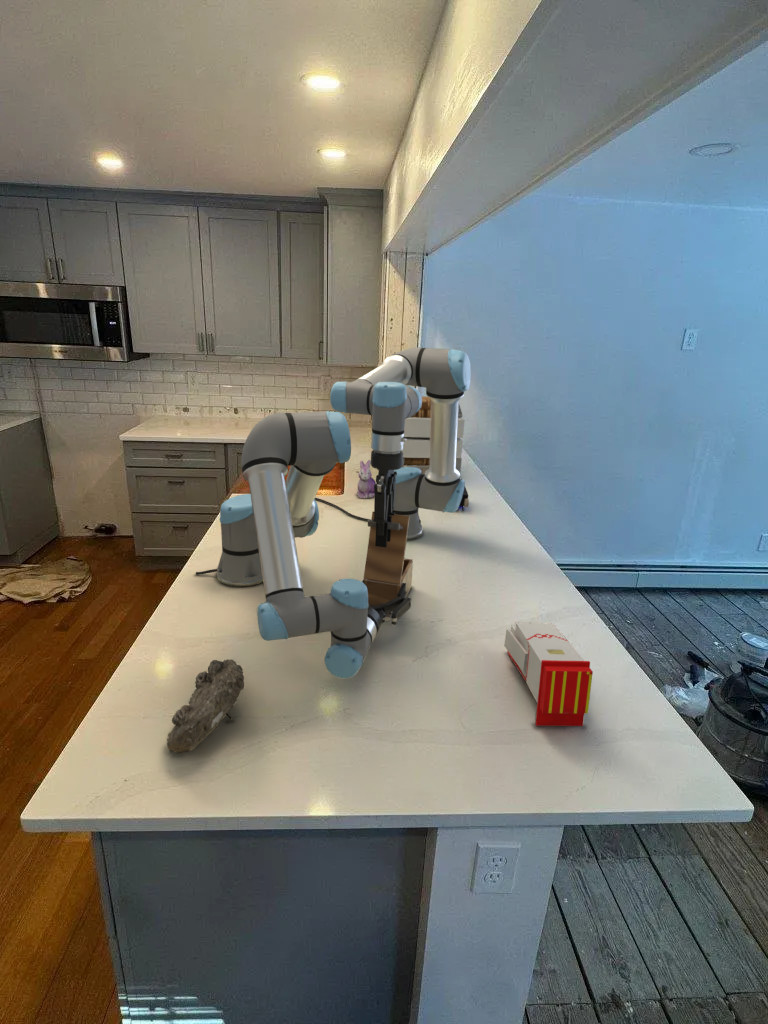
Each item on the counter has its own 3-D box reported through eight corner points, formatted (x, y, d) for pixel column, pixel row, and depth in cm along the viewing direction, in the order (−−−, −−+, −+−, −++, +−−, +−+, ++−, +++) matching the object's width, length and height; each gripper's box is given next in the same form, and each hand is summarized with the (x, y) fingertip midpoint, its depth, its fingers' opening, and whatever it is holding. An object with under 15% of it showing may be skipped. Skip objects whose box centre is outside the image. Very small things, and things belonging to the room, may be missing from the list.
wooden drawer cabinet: (382, 463, 289) (386, 382, 275) (445, 464, 293) (451, 384, 279) (390, 482, 257) (394, 392, 243) (460, 483, 261) (468, 394, 247)
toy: (550, 607, 134) (601, 667, 105) (545, 659, 137) (594, 732, 108) (499, 606, 134) (537, 666, 104) (495, 659, 137) (530, 731, 107)
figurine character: (468, 516, 224) (463, 500, 237) (471, 498, 221) (465, 483, 234) (452, 515, 224) (447, 499, 237) (453, 498, 220) (449, 482, 234)
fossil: (192, 660, 117) (244, 628, 112) (224, 691, 120) (276, 661, 115) (142, 746, 98) (202, 712, 93) (182, 779, 101) (242, 748, 96)
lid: (373, 511, 147) (365, 509, 139) (409, 516, 145) (404, 514, 137) (364, 578, 146) (356, 579, 138) (400, 583, 144) (394, 585, 136)
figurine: (361, 500, 232) (362, 464, 227) (351, 492, 241) (352, 458, 236) (382, 497, 237) (383, 462, 232) (371, 490, 245) (372, 456, 240)
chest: (378, 581, 164) (379, 554, 161) (411, 586, 162) (413, 559, 159) (362, 609, 149) (363, 580, 146) (398, 615, 147) (400, 586, 144)
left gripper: (314, 633, 132) (344, 591, 153) (408, 650, 127) (425, 604, 148) (315, 605, 129) (344, 565, 150) (410, 621, 125) (427, 578, 145)
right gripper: (395, 460, 124) (390, 558, 132) (409, 444, 139) (404, 533, 147) (362, 456, 125) (359, 553, 133) (380, 441, 140) (376, 529, 148)
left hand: (384, 584), depth 149 cm, fingers closed on chest, 10 cm apart
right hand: (382, 543), depth 140 cm, fingers open, 3 cm apart
